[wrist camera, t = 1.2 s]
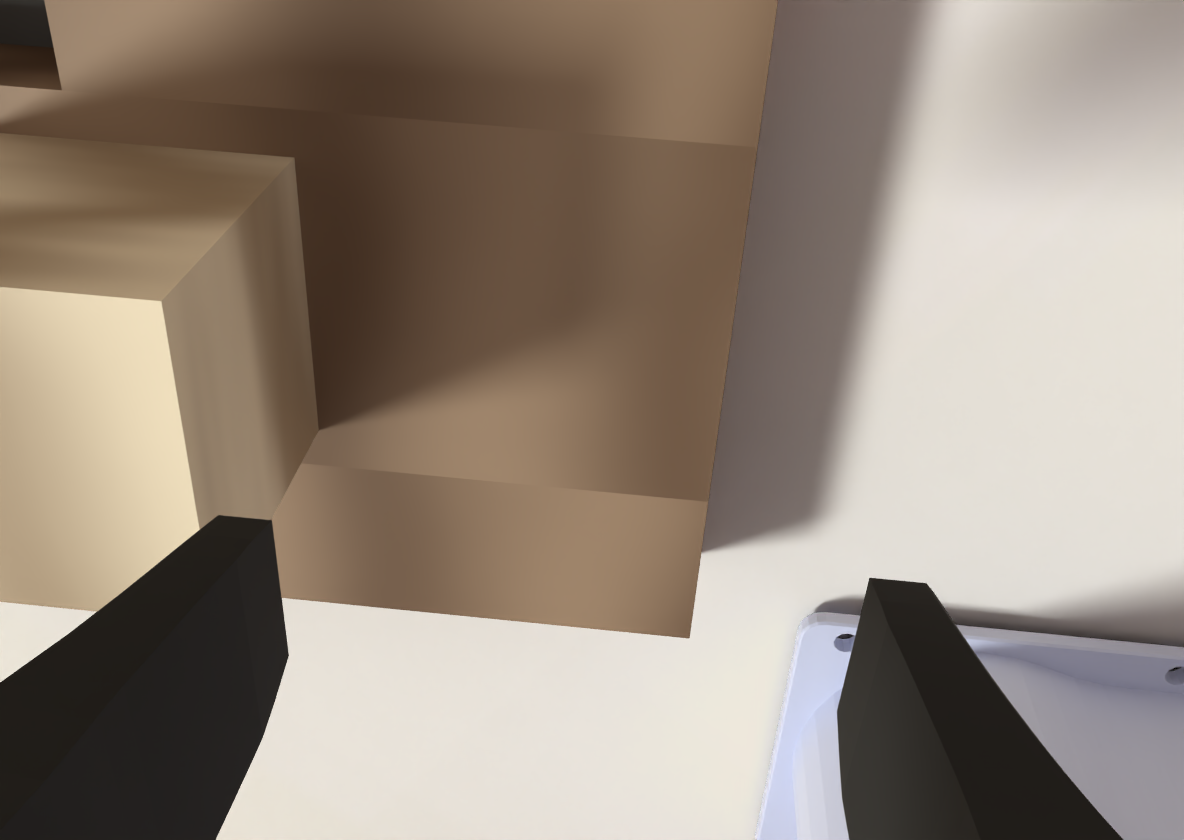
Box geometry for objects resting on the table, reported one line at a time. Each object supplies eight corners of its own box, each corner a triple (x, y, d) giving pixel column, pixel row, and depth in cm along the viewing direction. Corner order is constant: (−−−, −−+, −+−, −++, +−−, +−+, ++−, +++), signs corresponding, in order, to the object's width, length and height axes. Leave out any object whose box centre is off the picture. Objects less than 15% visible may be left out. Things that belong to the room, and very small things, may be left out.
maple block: (294, 157, 17) (161, 301, 13) (318, 430, 20) (215, 623, 16) (-23, 130, 17) (-255, 264, 13) (43, 404, 20) (-132, 588, 16)
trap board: (780, -121, 17) (791, -98, 15) (690, 556, 24) (689, 638, 22) (-821, -235, 18) (-1026, -229, 16) (-455, 445, 25) (-562, 513, 23)
